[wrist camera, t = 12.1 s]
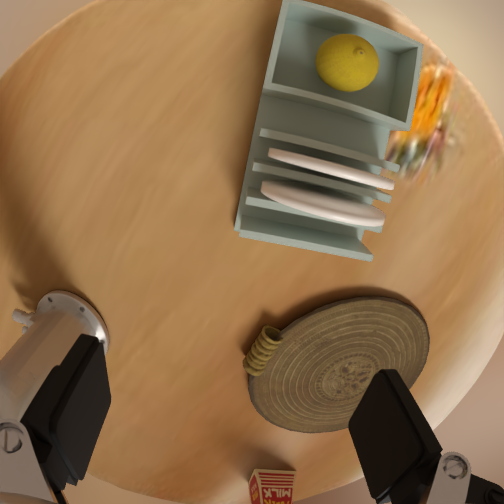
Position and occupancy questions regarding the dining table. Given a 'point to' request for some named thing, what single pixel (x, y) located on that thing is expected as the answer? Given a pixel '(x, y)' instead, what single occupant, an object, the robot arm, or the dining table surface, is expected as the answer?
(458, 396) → the dining table surface
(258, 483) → the milk carton
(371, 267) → the dining table surface
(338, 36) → the lemon
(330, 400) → the decorative disc
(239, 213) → the dish rack
